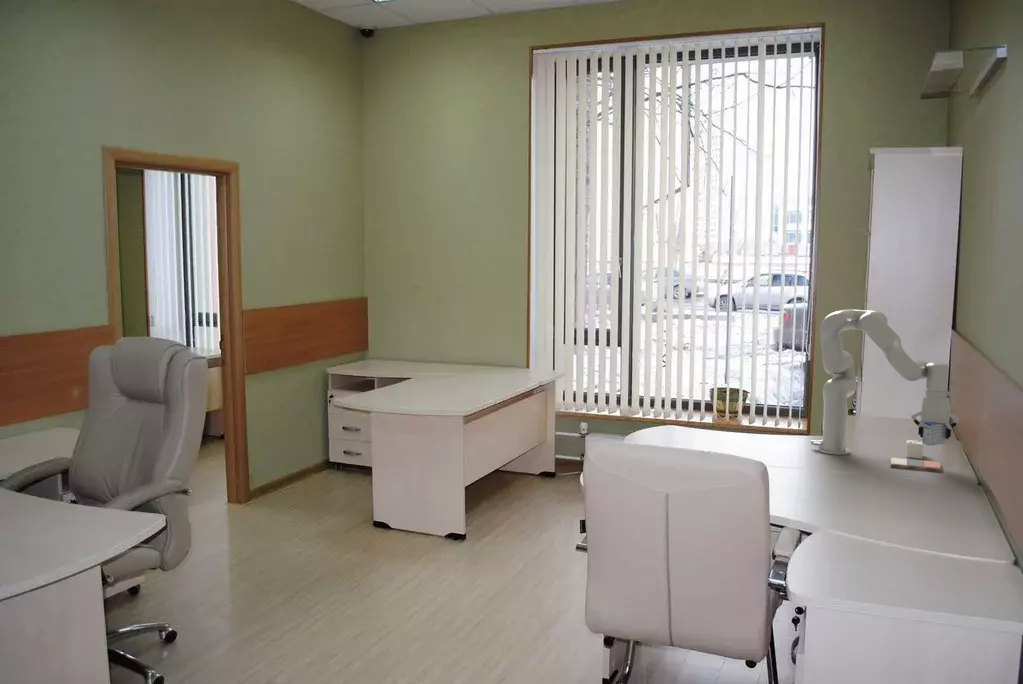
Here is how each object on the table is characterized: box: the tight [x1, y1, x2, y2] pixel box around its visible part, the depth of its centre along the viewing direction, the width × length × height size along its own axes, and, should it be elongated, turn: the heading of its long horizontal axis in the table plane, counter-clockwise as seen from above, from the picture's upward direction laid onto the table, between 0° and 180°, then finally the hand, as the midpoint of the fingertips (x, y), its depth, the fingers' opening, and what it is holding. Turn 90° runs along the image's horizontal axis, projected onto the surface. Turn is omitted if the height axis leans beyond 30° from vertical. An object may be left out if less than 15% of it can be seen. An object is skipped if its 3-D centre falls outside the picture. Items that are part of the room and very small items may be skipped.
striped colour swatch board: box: [890, 457, 942, 473], centre depth 341 cm, size 18×12×1 cm, turn 66°
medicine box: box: [921, 422, 947, 446], centre depth 338 cm, size 8×4×9 cm, turn 109°
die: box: [905, 439, 924, 460], centre depth 357 cm, size 6×6×6 cm
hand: (934, 437), depth 338 cm, fingers closed on medicine box, 8 cm apart
